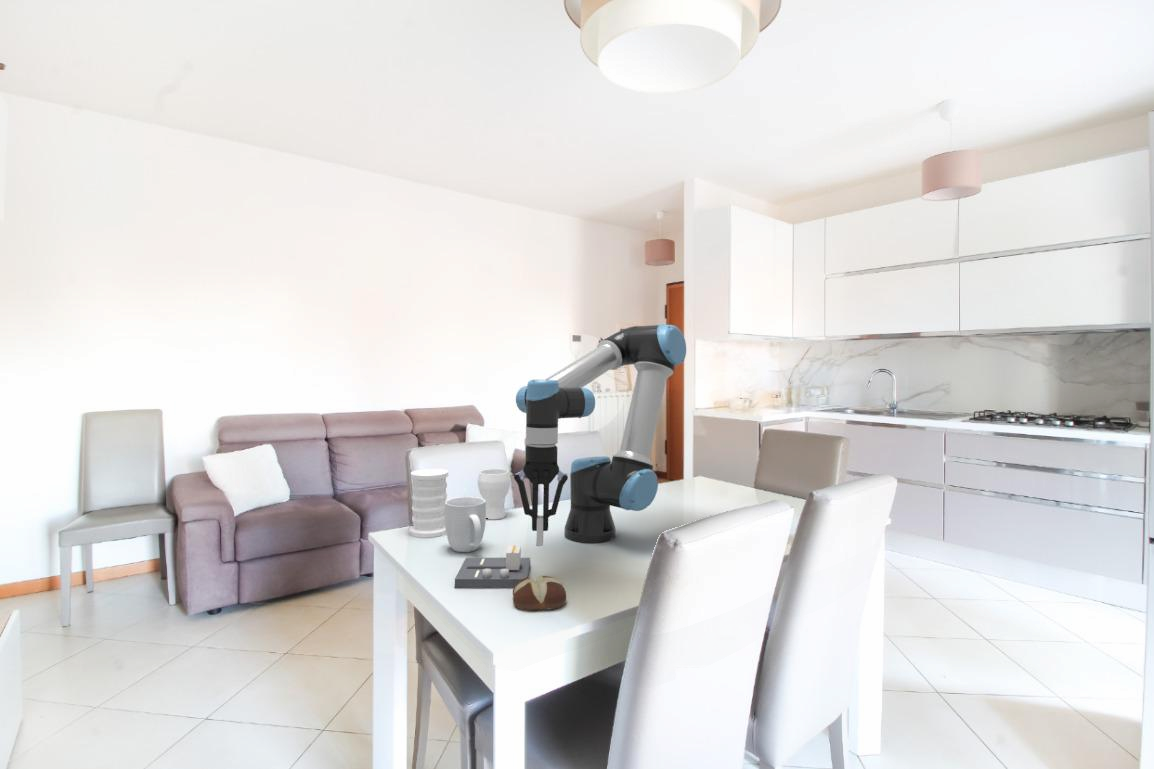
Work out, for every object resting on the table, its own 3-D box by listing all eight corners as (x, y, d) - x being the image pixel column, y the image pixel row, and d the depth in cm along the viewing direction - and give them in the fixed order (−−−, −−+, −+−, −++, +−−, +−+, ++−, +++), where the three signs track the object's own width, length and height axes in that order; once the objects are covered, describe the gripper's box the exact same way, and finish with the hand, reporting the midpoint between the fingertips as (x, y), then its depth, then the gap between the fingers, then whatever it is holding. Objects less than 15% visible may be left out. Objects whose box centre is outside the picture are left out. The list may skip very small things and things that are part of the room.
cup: (473, 520, 178) (473, 473, 178) (483, 511, 189) (484, 468, 188) (504, 521, 177) (504, 475, 176) (513, 513, 187) (514, 469, 187)
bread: (567, 612, 113) (567, 587, 112) (511, 613, 112) (511, 589, 112) (564, 590, 124) (564, 568, 124) (513, 591, 123) (513, 568, 123)
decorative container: (418, 540, 157) (418, 477, 157) (403, 530, 166) (403, 471, 166) (456, 532, 164) (456, 472, 164) (439, 524, 174) (439, 467, 173)
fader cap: (520, 562, 133) (520, 545, 133) (518, 570, 128) (519, 552, 128) (508, 562, 133) (508, 545, 133) (506, 570, 128) (506, 552, 128)
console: (530, 565, 138) (530, 551, 138) (526, 588, 124) (526, 572, 124) (466, 565, 138) (466, 551, 138) (454, 587, 124) (454, 572, 124)
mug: (498, 554, 146) (498, 505, 145) (458, 562, 140) (458, 511, 139) (476, 539, 158) (476, 494, 158) (438, 546, 152) (438, 499, 152)
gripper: (569, 443, 134) (567, 539, 134) (515, 442, 134) (513, 539, 134) (569, 447, 126) (567, 549, 127) (512, 446, 126) (510, 548, 127)
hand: (539, 544), depth 130 cm, fingers closed
